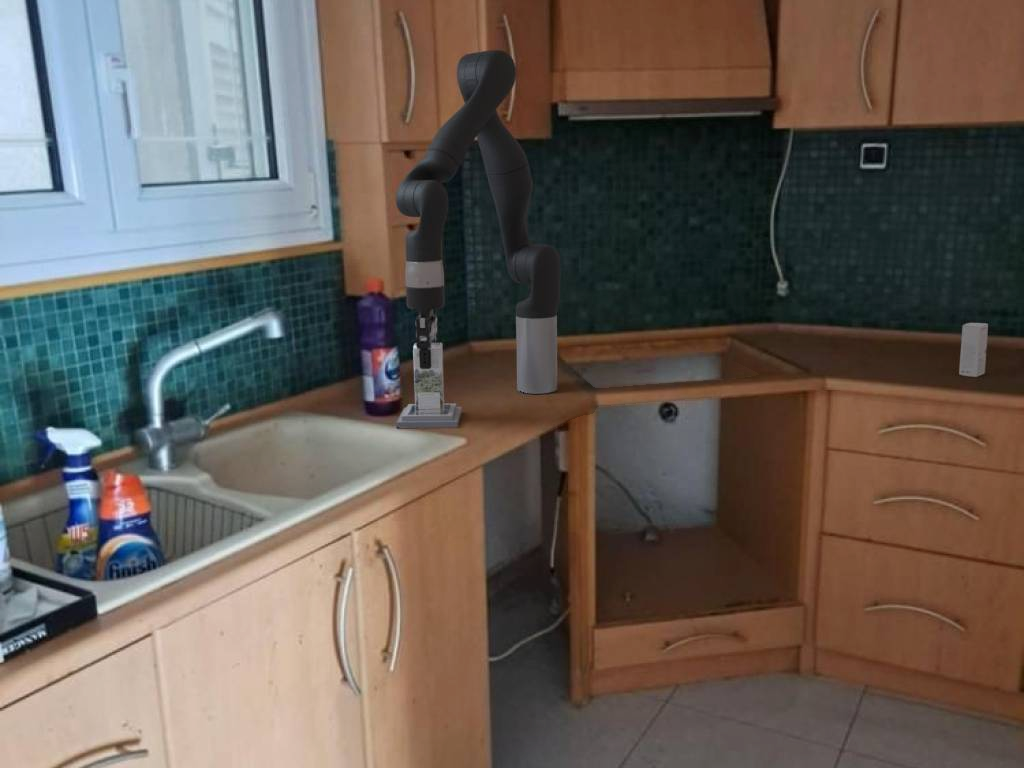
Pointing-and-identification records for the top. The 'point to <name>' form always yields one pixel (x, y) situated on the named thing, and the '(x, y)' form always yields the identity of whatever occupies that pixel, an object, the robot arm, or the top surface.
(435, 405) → the syrup box
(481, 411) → the top surface
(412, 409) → the base plate
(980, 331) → the skincare box
